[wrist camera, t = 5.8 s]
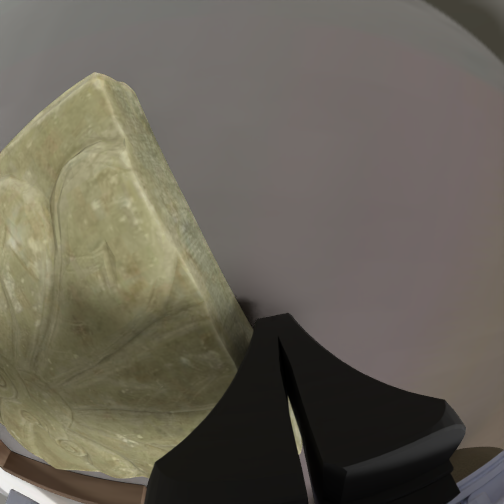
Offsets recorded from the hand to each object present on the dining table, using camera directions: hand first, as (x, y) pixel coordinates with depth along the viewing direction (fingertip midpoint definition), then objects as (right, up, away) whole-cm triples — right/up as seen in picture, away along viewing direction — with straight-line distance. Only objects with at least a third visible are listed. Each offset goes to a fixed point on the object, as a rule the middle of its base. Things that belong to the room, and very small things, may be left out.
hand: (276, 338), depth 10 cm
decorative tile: (-11, -3, +2) cm, 11 cm away
